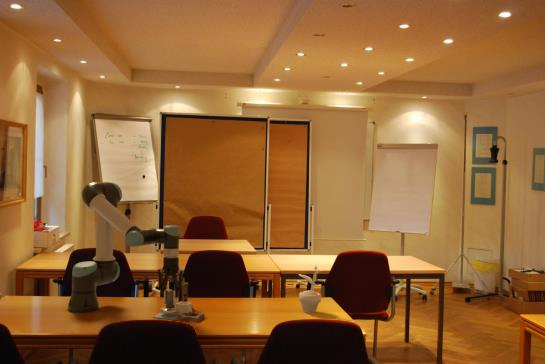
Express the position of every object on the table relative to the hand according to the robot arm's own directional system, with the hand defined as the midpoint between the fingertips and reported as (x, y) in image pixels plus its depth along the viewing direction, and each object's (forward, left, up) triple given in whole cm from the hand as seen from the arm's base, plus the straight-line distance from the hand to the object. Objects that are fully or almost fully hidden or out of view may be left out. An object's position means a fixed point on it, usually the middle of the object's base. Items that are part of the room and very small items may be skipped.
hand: (170, 303), depth 276 cm
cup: (+6, +4, -6) cm, 9 cm away
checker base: (0, 0, -6) cm, 6 cm away
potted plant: (+65, +33, -6) cm, 73 cm away
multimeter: (+4, +17, -6) cm, 19 cm away
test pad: (0, 0, -4) cm, 4 cm away
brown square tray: (+12, -1, -6) cm, 13 cm away
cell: (0, 0, -2) cm, 2 cm away
